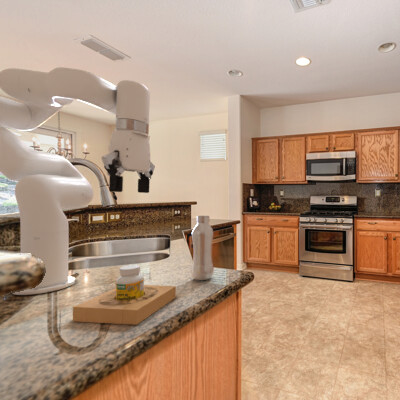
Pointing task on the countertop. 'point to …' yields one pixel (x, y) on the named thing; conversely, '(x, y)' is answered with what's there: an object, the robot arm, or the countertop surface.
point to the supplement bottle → (129, 283)
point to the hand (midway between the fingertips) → (130, 192)
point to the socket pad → (124, 306)
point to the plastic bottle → (202, 249)
